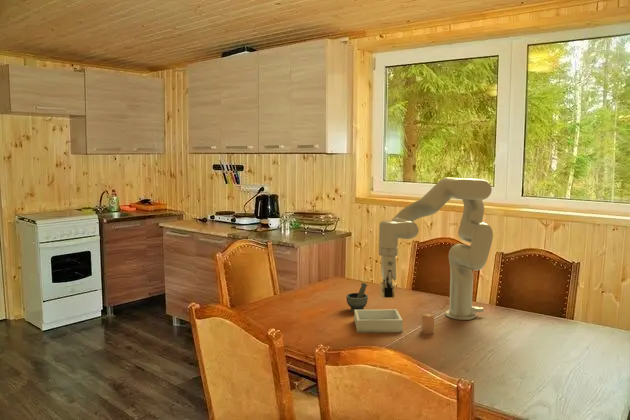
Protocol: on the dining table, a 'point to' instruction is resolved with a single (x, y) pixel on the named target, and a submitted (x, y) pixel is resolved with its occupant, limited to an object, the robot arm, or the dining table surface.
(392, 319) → the tote
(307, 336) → the dining table surface
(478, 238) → the robot arm
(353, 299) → the mortar and pestle
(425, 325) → the cylinder
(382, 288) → the cube
